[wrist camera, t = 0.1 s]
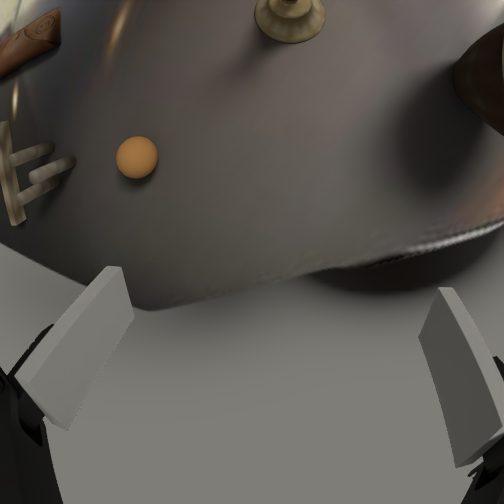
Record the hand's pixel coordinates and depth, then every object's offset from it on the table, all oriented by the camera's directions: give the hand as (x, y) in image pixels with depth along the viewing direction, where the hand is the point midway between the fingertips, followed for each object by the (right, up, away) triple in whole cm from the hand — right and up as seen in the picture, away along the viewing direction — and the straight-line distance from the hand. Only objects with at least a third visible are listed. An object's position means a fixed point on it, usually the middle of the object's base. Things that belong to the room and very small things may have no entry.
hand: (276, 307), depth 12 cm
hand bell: (+4, +30, +15) cm, 34 cm away
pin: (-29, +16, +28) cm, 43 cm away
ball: (-16, +14, +24) cm, 32 cm away
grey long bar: (-46, +17, +30) cm, 57 cm away
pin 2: (-34, +14, +30) cm, 47 cm away
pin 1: (-34, +19, +27) cm, 47 cm away
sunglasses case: (-39, +38, +18) cm, 57 cm away
